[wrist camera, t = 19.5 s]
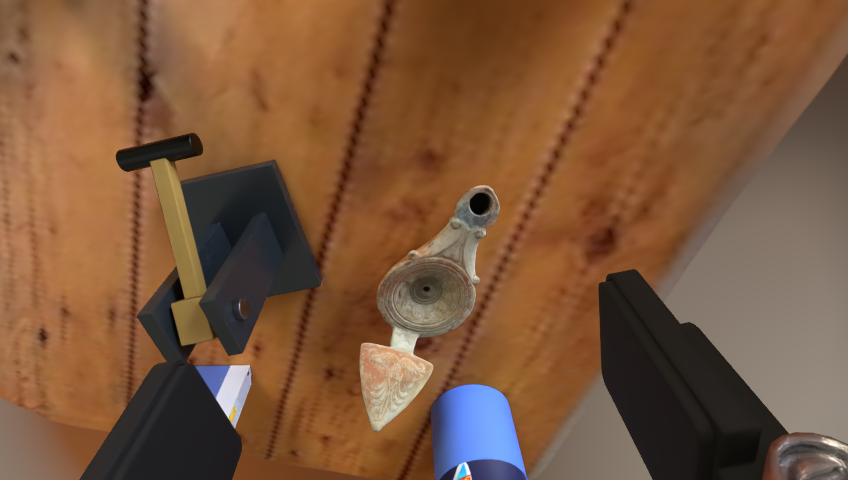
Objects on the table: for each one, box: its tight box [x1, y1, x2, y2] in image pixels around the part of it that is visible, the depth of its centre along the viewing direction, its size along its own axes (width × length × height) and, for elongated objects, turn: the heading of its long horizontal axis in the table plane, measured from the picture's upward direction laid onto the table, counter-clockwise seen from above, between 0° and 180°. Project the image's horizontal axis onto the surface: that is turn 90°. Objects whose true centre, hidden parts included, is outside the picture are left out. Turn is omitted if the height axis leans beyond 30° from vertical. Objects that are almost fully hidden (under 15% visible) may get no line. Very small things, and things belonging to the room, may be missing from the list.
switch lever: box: [116, 133, 217, 346], centre depth 30 cm, size 13×5×2 cm, turn 11°
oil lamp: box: [359, 186, 500, 432], centre depth 39 cm, size 9×21×10 cm, turn 153°
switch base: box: [137, 160, 322, 362], centre depth 35 cm, size 12×9×13 cm
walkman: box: [195, 365, 252, 428], centre depth 43 cm, size 8×3×12 cm, turn 88°
